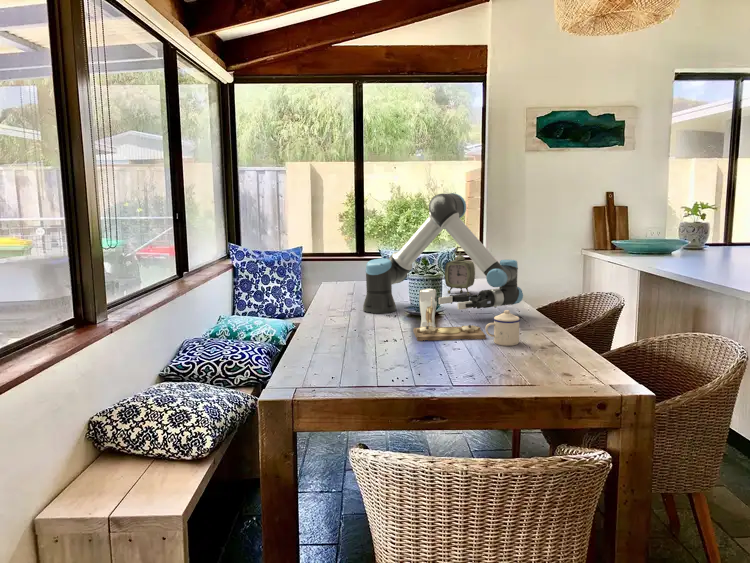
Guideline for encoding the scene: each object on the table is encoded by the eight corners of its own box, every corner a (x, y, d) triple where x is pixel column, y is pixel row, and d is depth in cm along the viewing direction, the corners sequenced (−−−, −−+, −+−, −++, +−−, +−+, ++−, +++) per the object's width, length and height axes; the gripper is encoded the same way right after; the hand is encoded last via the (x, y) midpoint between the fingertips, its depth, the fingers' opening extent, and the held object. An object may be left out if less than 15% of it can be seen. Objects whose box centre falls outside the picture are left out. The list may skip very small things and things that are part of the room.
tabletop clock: (444, 293, 299) (444, 247, 296) (450, 291, 307) (450, 245, 303) (470, 295, 293) (470, 248, 289) (475, 292, 300) (476, 246, 297)
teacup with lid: (515, 339, 202) (516, 307, 201) (522, 345, 193) (523, 312, 192) (482, 340, 202) (483, 308, 201) (488, 346, 193) (488, 313, 192)
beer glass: (439, 325, 226) (438, 289, 223) (433, 329, 219) (433, 292, 217) (422, 324, 228) (422, 288, 226) (416, 328, 222) (416, 291, 220)
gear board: (417, 340, 203) (417, 330, 202) (413, 331, 217) (413, 322, 216) (485, 338, 204) (485, 329, 203) (477, 329, 218) (477, 320, 217)
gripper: (509, 312, 226) (466, 318, 216) (472, 302, 248) (431, 307, 239) (509, 293, 225) (466, 299, 215) (472, 285, 247) (431, 290, 237)
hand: (448, 303), depth 227 cm, fingers open, 13 cm apart
